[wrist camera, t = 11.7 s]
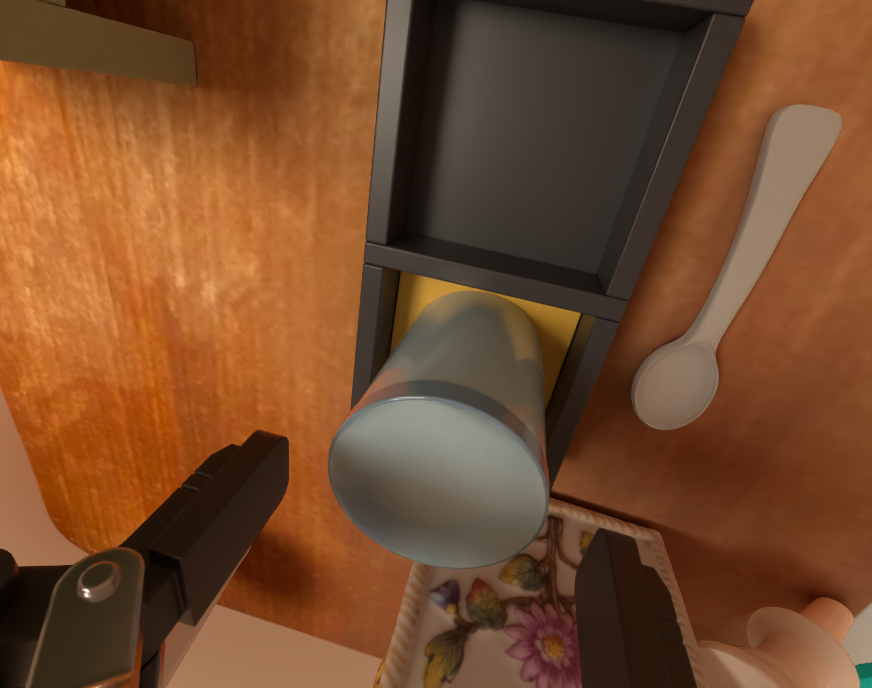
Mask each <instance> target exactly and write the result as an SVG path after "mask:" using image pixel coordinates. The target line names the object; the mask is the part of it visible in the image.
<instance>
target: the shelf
mask: <svg viewBox="0 0 872 688" xmlns="http://www.w3.org/2000/svg"><path fill="white" fill-rule="evenodd" d="M64 6H66V2H65V0H0V60H3V61H10V62H18V63H25V64H32V65H39V66H47V67H54V68H61V69H68V70H75V71H83V72H90V73H97V74H104V75H112V76H119V77H126V78H133V79H141V80H148V81H155V82H162V83H169V84H177V85H184V86H191V87H196V86H197V81H196V69H195V58H194V46H193V42H191V41H189V40H185V39H181V38H177V37H174V36H170V35H166V34H163V33H159V32H155V31H151V30H148V29H144V28H140V27H137V26H133V25H129V24H125V23H122V22H118V21H114V20H111V19H107V18H103V17H99V16H96V15H92V14H88V13H85V12H81V11H77V10H73V9H70V8H66V7H64Z"/></svg>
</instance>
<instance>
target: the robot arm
mask: <svg viewBox="0 0 872 688" xmlns="http://www.w3.org/2000/svg"><path fill="white" fill-rule="evenodd" d="M288 481H289V442H288V439H287V437H284V436H280V435H277V434H273V433H270V432H266V431H263V430H257V431H255V432H254V433H253V434H252V435H251V436H250V437H249V438H248V439H247V440H246V441H245V442H244V443H243V444H242V446H238V445H234V444H231V445H229V446H227V447H225V448H223V449H221V450H220V451H218V452H216V453H214V454H212V455H211V456H210V457H209V458H208V459H207V460H206V461H205V462H204V463H203V464H202V465H201V466H200V467H199V468H198V469H197V470H196V471H195V473H194V475H193V474H192V475H191V476H190V477H189V478H188V479H187V480H186V481H185V482H184V483H183V484H182V486H181V488H178V489H177V490H176V491H175V492H174V493H173V494H172V495H171V496H170V497H169V498H168V499H167V500H166V501H165V502H164V503H163V504H162V505H161V506H160V507H159V508H158V509H157V510H156V511H155V512H154V513H153V514H152V515H151V516H150V517H149V518H148V519H147V520H146V521H145V522H144V523H143V524H142V525H141V526H140V527H139V528H138V529H137V530H136V531H135V532H134V533H133V534H132V535H131V536H130V537H129V538H128V539H127V540H126V541H124V542H123V543H122V544H121V545H119V546H118V547H113V548H108V549H104V550H100V551H97V552H95V553H93V554H90V555H88V556H86V557H85V558H83V559H81V560H80V561H78V562H77V563H75V564H74V565H60V566H22V567H18V565H17V563H16V561H15V559H14V558H13V556H12V554H11V553H9V552H8V551H6V550H3V549H0V688H163V675H164V659H165V639H166V638H167V636H168V635H169V634H170V632H171V631H172V629H173V628H174V627H175V625H176V624H177V623H178V622H180V623H183V624H186V625H189V626H192V627H195V626H196V625H197V623H198V622H199V620H200V619H201V617H202V616H203V615H204V613H205V612H206V610H207V609H208V607H209V606H210V604H211V603H212V601H213V600H214V598H215V597H216V596H217V594H218V593H219V591H220V590H221V588H222V587H223V585H224V584H225V582H226V581H227V580H228V578H229V577H230V575H231V574H232V572H233V571H234V569H235V568H236V566H237V565H238V563H239V562H240V561H241V559H242V558H243V556H244V555H245V553H246V552H247V550H248V549H249V547H250V546H251V545H252V543H253V542H254V540H255V539H256V537H257V536H258V534H259V533H260V531H261V530H262V528H263V527H264V526H265V524H266V523H267V521H268V520H269V518H270V517H271V515H272V514H273V512H274V511H275V510H276V508H277V507H278V505H279V504H280V502H281V500H282V499H283V497H284V494H285V492H286V489H287V486H288ZM574 595H575V608H576V620H577V633H578V645H579V657H580V670H581V682H582V688H697V685H696V681H695V678H694V674H693V671H692V667H691V664H690V660H689V657H688V653H687V650H686V646H685V645H683V640H684V639H683V636H682V633H681V629H680V626H679V623H677V615H676V612H675V608H674V605H673V601H672V598H671V594H670V592H669V590H668V588H667V587H666V585H665V584H664V582H663V581H662V579H661V577H660V576H659V574H658V573H657V571H656V570H655V568H653V567H650V566H646V565H643V564H642V563H641V558H640V554H639V550H638V546H637V543H636V540H635V539H634V538H633V537H632V536H628V535H625V534H621V533H618V532H614V531H611V530H607V529H604V528H599V529H598V530H597V531H596V533H595V535H594V537H593V539H592V540H591V542H590V544H589V546H588V548H587V550H586V552H585V554H584V556H583V558H582V560H581V561H580V563H579V565H578V568H577V571H576V576H575V584H574Z"/></svg>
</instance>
